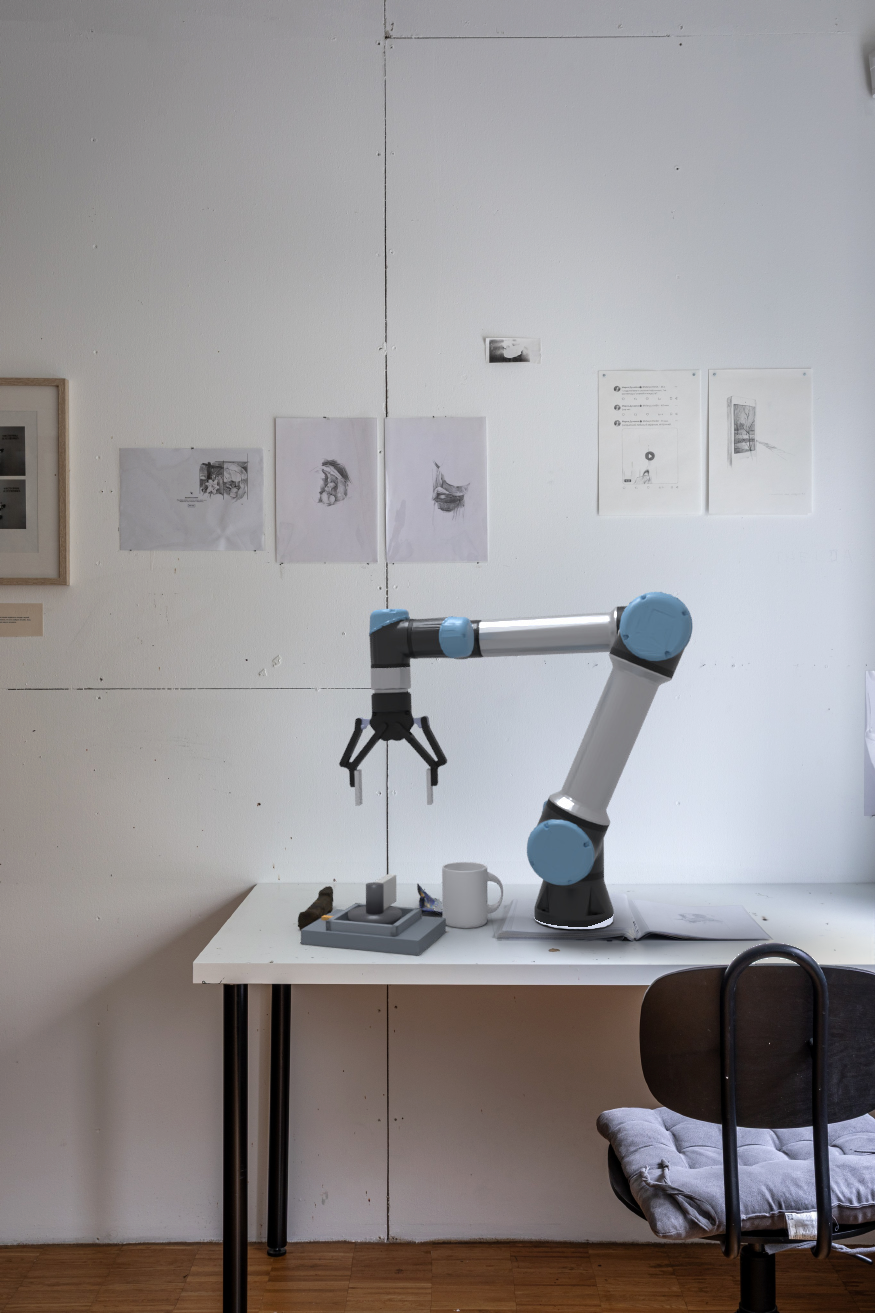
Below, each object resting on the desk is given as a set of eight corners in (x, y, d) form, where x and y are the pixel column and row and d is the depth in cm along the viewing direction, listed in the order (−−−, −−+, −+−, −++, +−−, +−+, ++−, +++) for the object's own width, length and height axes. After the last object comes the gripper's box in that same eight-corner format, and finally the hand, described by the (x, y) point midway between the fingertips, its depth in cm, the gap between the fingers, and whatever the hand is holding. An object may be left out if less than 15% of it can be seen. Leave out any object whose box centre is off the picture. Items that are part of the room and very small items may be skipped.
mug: (510, 926, 176) (510, 869, 176) (449, 930, 173) (448, 872, 173) (496, 914, 184) (496, 860, 184) (437, 918, 181) (437, 863, 182)
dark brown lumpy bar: (318, 933, 173) (318, 907, 173) (297, 932, 173) (297, 907, 173) (343, 907, 191) (344, 884, 192) (325, 906, 192) (325, 884, 192)
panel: (445, 932, 172) (445, 909, 172) (418, 955, 158) (418, 930, 158) (336, 922, 179) (336, 900, 179) (300, 944, 165) (300, 920, 165)
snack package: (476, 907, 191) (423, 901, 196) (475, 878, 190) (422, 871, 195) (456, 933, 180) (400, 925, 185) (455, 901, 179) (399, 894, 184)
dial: (389, 931, 162) (389, 892, 162) (339, 927, 165) (339, 888, 166) (415, 912, 175) (415, 876, 175) (368, 908, 178) (368, 873, 178)
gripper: (459, 689, 178) (462, 800, 178) (331, 692, 181) (334, 802, 181) (454, 689, 171) (458, 806, 170) (321, 693, 174) (324, 807, 174)
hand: (394, 804), depth 176 cm, fingers open, 13 cm apart
